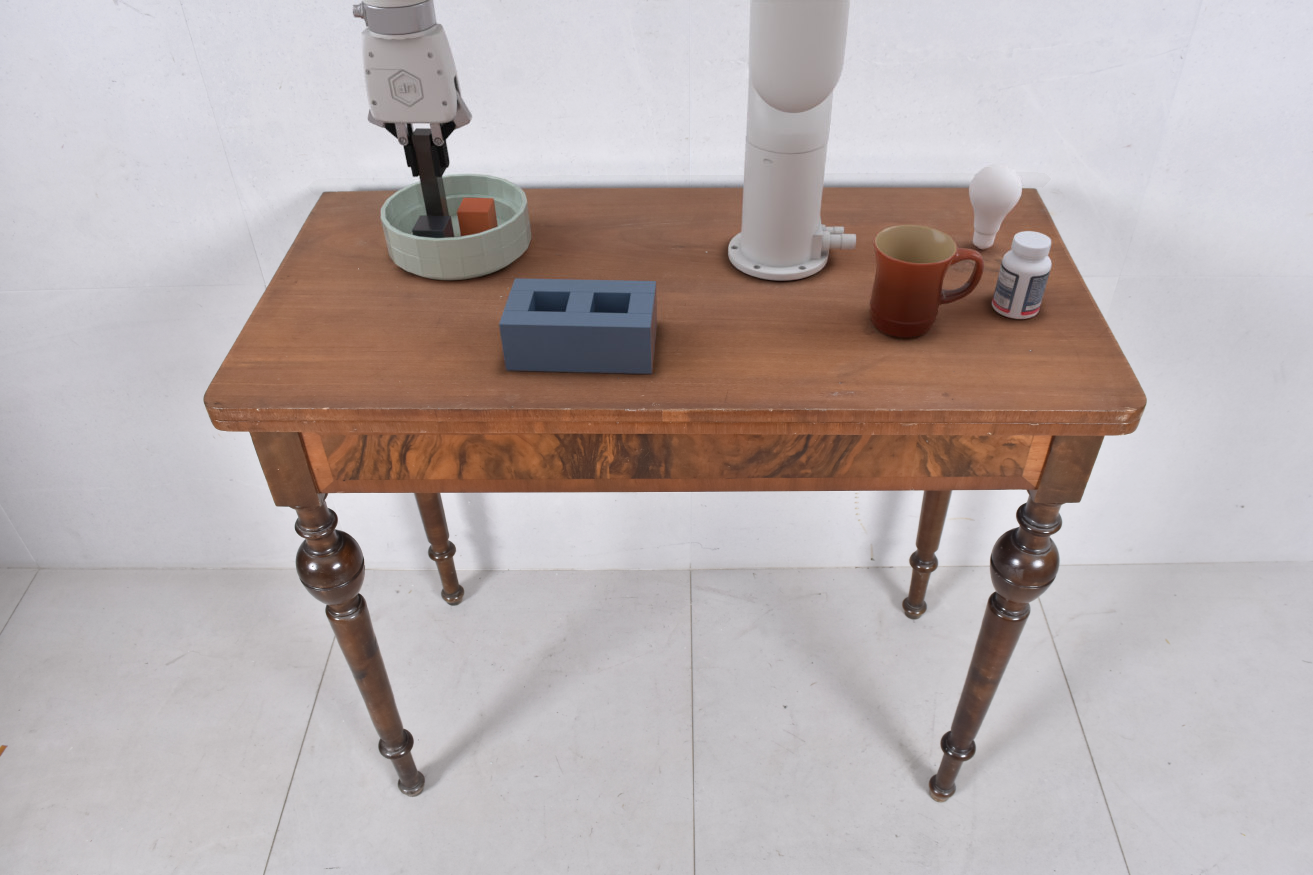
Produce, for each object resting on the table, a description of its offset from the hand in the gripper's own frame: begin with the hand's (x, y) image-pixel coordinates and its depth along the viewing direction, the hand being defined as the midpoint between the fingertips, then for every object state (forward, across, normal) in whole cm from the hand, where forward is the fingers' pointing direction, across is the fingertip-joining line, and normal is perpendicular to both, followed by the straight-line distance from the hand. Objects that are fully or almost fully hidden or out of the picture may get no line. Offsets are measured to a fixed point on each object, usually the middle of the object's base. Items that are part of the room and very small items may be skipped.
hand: (430, 171), depth 115 cm
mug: (+10, +59, -16) cm, 62 cm away
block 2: (+9, +4, +2) cm, 11 cm away
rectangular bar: (+7, 0, 0) cm, 7 cm away
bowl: (+10, +2, -1) cm, 10 cm away
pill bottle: (+10, +71, -12) cm, 72 cm away
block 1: (+9, 0, -3) cm, 10 cm away
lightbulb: (+10, +70, +2) cm, 70 cm away
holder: (+10, +21, -23) cm, 33 cm away
